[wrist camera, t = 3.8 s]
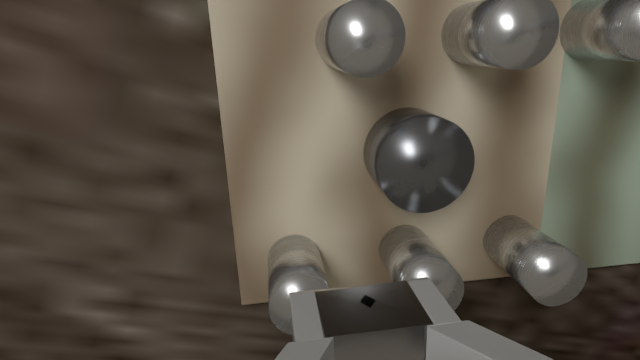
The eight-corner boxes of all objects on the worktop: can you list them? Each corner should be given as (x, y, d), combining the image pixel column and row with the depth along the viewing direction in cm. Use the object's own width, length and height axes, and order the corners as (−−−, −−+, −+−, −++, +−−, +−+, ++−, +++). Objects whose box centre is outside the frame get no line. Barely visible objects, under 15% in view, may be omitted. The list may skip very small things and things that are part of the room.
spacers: (617, -3, 21) (709, -15, 16) (575, 253, 25) (639, 296, 21) (245, 9, 19) (241, -1, 14) (269, 284, 23) (271, 338, 19)
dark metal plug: (449, 104, 21) (478, 114, 18) (444, 188, 23) (471, 208, 20) (362, 109, 21) (378, 120, 18) (363, 194, 22) (378, 217, 19)
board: (692, -28, 22) (708, -30, 21) (632, 256, 26) (643, 262, 26) (208, -15, 19) (205, -17, 18) (242, 296, 24) (241, 304, 23)
